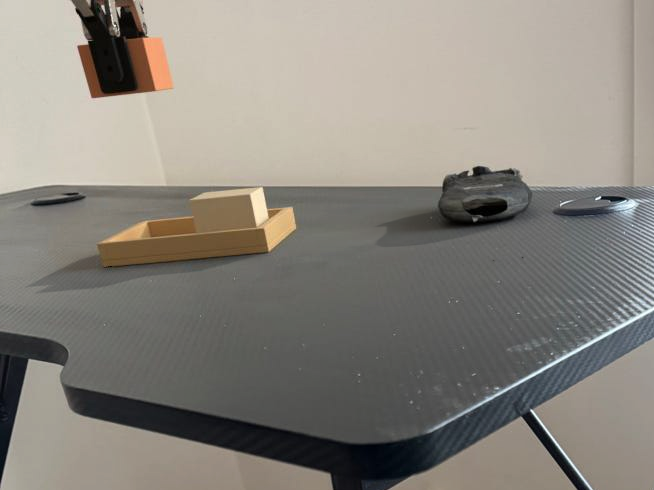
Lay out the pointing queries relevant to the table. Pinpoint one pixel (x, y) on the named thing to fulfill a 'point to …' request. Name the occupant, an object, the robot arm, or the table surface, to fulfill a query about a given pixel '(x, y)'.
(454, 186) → the electronic device
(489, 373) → the table surface
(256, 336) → the table surface
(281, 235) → the tray
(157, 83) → the pad
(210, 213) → the pad
